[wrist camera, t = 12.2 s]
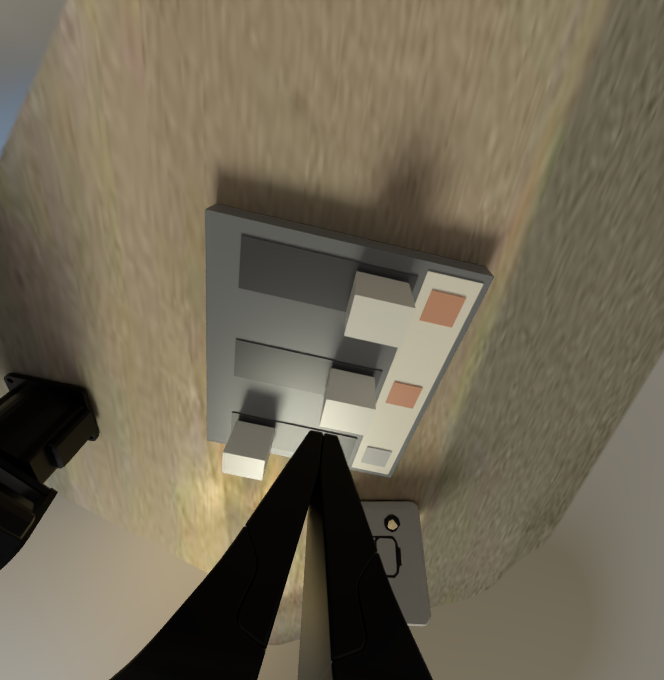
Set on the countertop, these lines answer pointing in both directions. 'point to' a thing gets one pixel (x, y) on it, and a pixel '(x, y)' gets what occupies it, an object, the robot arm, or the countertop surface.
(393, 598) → the robot arm
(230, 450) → the switch tab
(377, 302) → the switch tab
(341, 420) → the switch tab
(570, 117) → the countertop surface
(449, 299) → the switch housing
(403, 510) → the electrical switch
